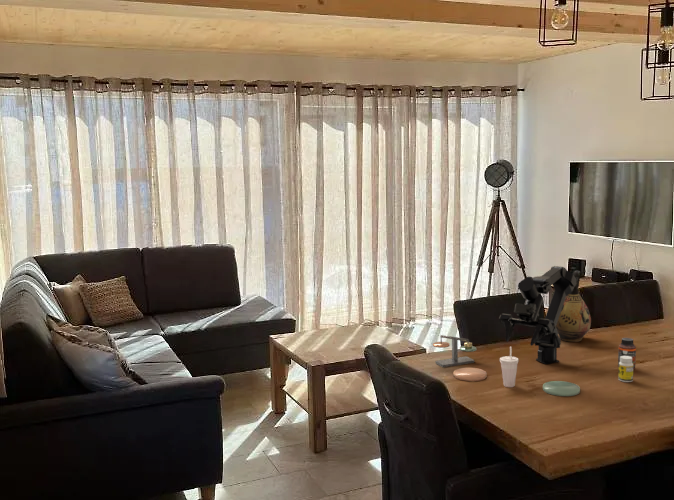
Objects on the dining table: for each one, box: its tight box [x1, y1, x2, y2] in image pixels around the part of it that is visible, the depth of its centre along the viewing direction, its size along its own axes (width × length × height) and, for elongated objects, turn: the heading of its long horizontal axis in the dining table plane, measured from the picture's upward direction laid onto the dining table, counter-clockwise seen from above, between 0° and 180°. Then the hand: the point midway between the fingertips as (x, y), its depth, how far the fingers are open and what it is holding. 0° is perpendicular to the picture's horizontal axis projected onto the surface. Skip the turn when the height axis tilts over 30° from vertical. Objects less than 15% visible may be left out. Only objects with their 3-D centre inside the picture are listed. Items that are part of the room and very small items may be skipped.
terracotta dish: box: [453, 367, 488, 382], centre depth 243 cm, size 12×12×1 cm
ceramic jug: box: [556, 270, 592, 343], centre depth 286 cm, size 17×15×30 cm
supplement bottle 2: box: [617, 356, 634, 383], centre depth 232 cm, size 5×5×8 cm
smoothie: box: [499, 346, 519, 388], centre depth 231 cm, size 6×6×14 cm
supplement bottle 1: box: [617, 337, 637, 371], centre depth 245 cm, size 6×6×11 cm
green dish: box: [542, 380, 581, 397], centre depth 225 cm, size 12×12×1 cm
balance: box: [432, 334, 477, 368], centre depth 259 cm, size 18×6×12 cm, turn 110°
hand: (518, 343), depth 236 cm, fingers open, 9 cm apart
